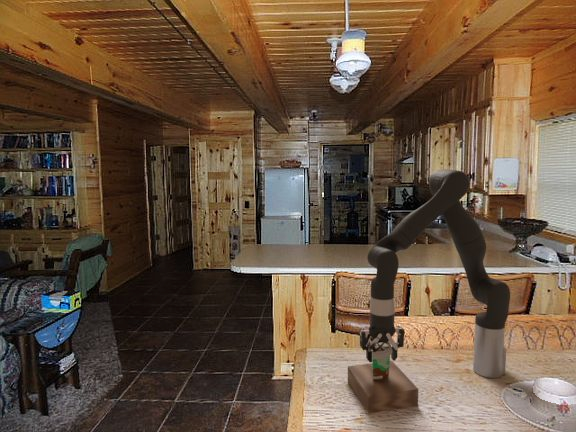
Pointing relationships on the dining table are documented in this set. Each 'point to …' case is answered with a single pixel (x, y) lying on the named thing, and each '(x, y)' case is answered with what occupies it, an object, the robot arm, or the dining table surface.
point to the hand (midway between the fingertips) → (381, 360)
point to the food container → (381, 360)
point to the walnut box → (382, 389)
